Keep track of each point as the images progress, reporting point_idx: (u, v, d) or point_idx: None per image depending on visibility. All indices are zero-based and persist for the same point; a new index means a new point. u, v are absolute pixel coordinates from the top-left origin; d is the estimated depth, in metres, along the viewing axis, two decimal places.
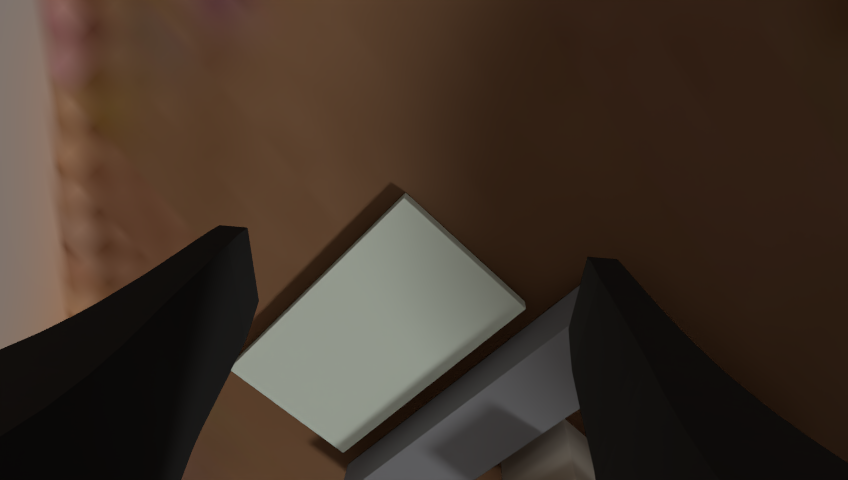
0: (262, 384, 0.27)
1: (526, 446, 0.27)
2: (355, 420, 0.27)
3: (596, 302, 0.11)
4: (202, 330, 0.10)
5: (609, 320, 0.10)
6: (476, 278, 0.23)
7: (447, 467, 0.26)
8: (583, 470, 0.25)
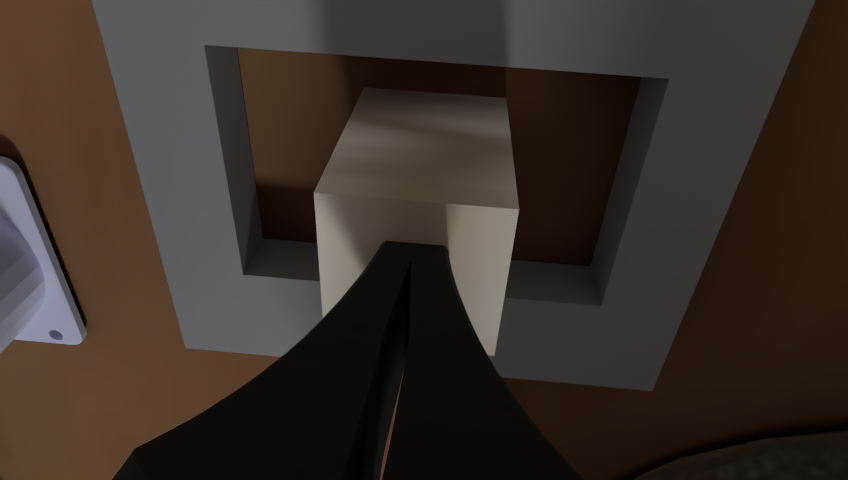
0: None
1: (422, 95, 0.16)
2: None
3: (410, 285, 0.11)
4: (395, 348, 0.10)
5: None
6: None
7: None
8: None
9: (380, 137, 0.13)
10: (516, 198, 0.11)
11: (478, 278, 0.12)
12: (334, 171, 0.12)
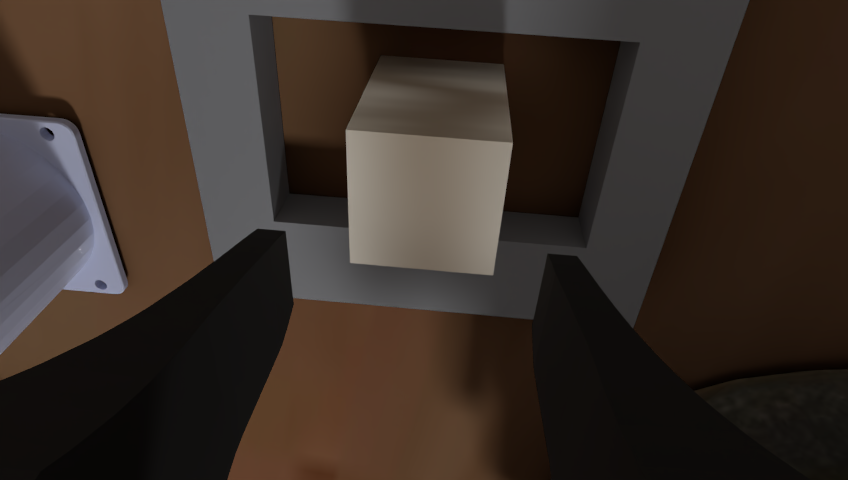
0: None
1: (431, 61, 0.18)
2: None
3: (553, 298, 0.11)
4: (246, 334, 0.10)
5: (563, 316, 0.10)
6: None
7: None
8: None
9: (397, 92, 0.16)
10: (511, 135, 0.14)
11: (479, 205, 0.14)
12: (361, 115, 0.14)
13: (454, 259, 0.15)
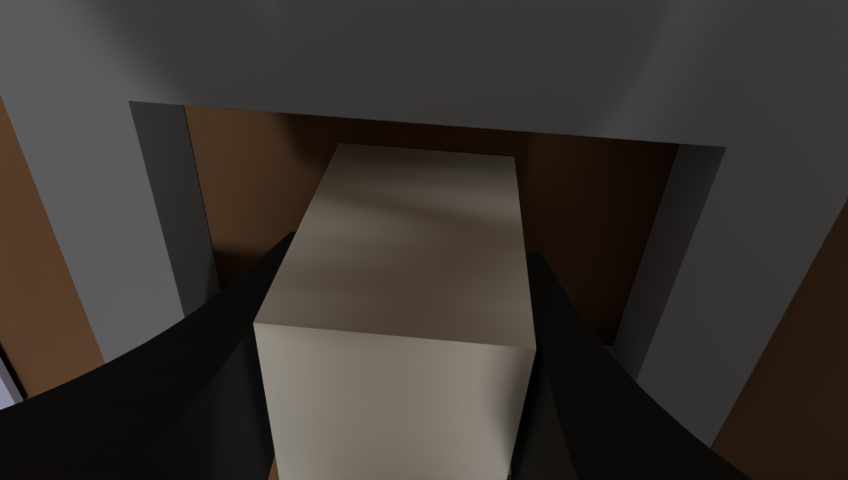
0: None
1: (410, 154, 0.13)
2: None
3: None
4: None
5: None
6: None
7: (264, 37, 0.10)
8: None
9: (353, 222, 0.10)
10: (531, 328, 0.08)
11: (479, 425, 0.09)
12: (286, 283, 0.09)
13: None
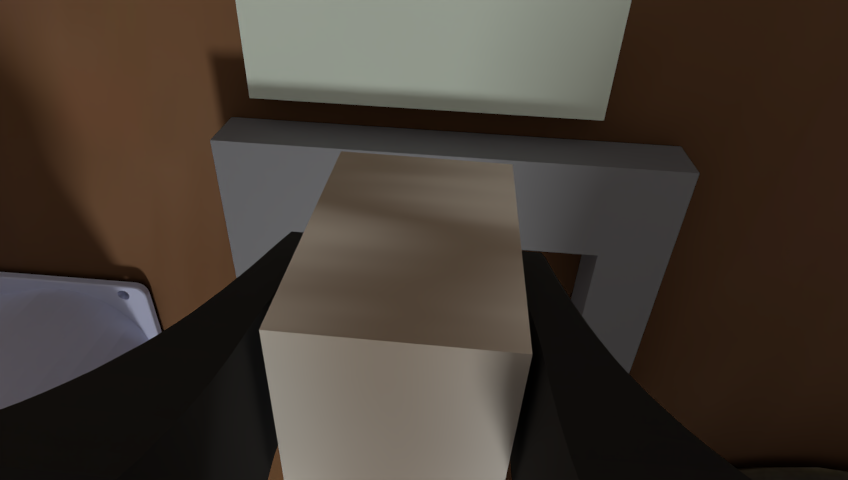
0: None
1: (411, 162, 0.13)
2: (305, 74, 0.19)
3: None
4: None
5: None
6: (605, 44, 0.17)
7: None
8: None
9: (355, 230, 0.11)
10: (528, 334, 0.08)
11: (478, 427, 0.09)
12: (290, 290, 0.09)
13: None
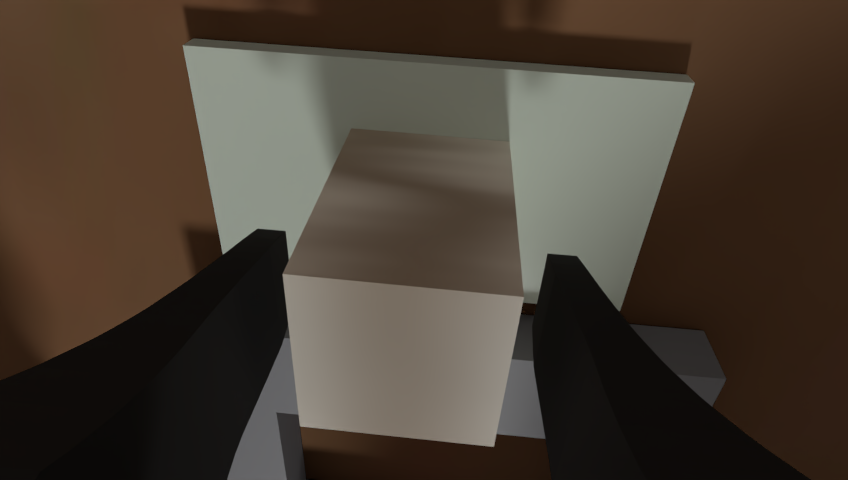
0: (212, 111, 0.14)
1: (416, 138, 0.14)
2: (289, 257, 0.17)
3: (553, 298, 0.11)
4: (246, 334, 0.10)
5: (563, 316, 0.10)
6: (624, 242, 0.16)
7: None
8: None
9: (366, 195, 0.12)
10: (520, 281, 0.10)
11: (475, 368, 0.10)
12: (309, 243, 0.10)
13: (441, 427, 0.11)
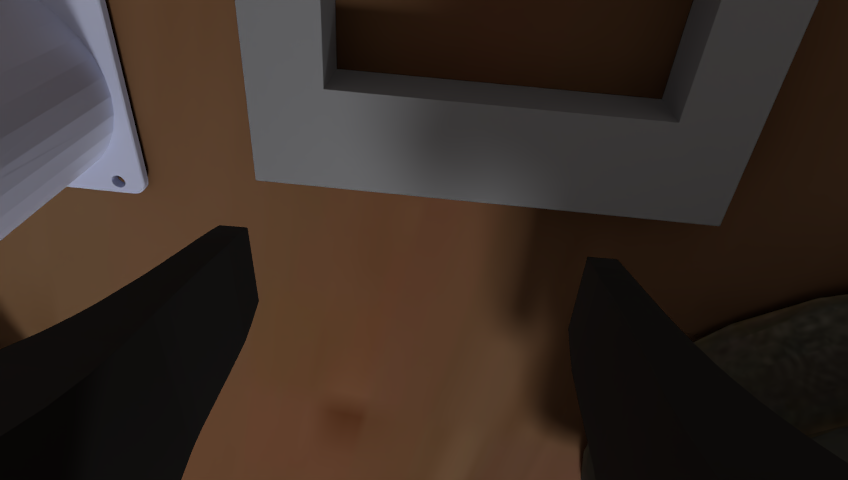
0: None
1: None
2: None
3: (596, 302, 0.11)
4: (203, 330, 0.10)
5: (609, 320, 0.10)
6: None
7: None
8: None
9: None
10: None
11: None
12: None
13: None
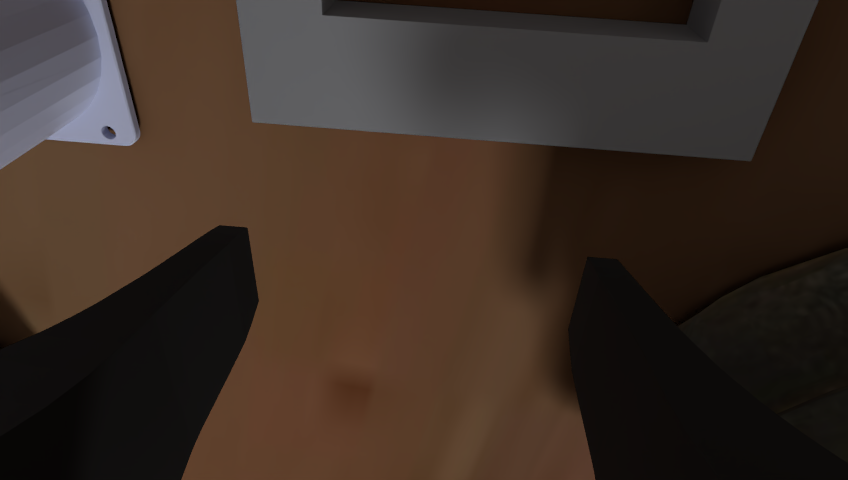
0: None
1: None
2: None
3: (596, 302, 0.11)
4: (203, 330, 0.10)
5: (609, 320, 0.10)
6: None
7: None
8: None
9: None
10: None
11: None
12: None
13: None
